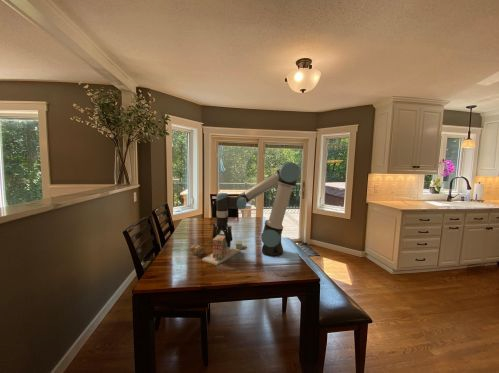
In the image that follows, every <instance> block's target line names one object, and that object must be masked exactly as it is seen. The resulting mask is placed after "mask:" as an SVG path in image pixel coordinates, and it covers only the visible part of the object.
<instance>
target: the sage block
mask: <svg viewBox="0 0 499 373" xmlns="http://www.w3.org/2000/svg"><path fill="white" fill-rule="evenodd" d="M242 247H243V240H236V243H235V249H239V250H242V249H243V248H242Z"/></svg>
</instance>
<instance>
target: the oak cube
mask: <svg viewBox="0 0 499 373" xmlns="http://www.w3.org/2000/svg"><path fill="white" fill-rule="evenodd" d="M198 247H201V245H198V244H192V245H191V246H190V247H189V255H192V256H197V255H198Z"/></svg>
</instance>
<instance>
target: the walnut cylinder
mask: <svg viewBox="0 0 499 373" xmlns="http://www.w3.org/2000/svg"><path fill="white" fill-rule="evenodd" d="M205 257H206V247H205V246H201V245H200V247H198V258H201V259H203V258H205Z"/></svg>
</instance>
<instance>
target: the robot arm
mask: <svg viewBox="0 0 499 373" xmlns="http://www.w3.org/2000/svg"><path fill="white" fill-rule="evenodd" d="M300 175H301V169H300V166H299V165H298V164H297V163H296V162H292V161H288V162H285V163H283V164H282V165H281V166H280V168H278V169H277V170H276V171H275V173H273V174H271V175H270V176H268V177H267V178H264V179H263V180H262V181H260V182H258V183H256V184H255V185H253V186H252V187H250V188H249V189H247V190H245V191H244V192H241V193H240V194H239V195H236V196H229V194H228V193H227V192H226V193H225V192H220V193H219V192H218V193H217V194H216V200H215V202H216V223H213V224H212V225H213V226H212V227H213V230H212V234H211V235H212V239H214V238H215V237H216V236H217V235H218V234H221V231H222V232H223V234H224V235H225V236H226V241H227V242H226V252H227V251H229V246H230V242H231V243H232V241H234V240H233V233H232V232H233V231H232V226H231V225H228V222H229V209H237V210H238V209H239V210H244V209H246V207H247V203H249V202H251V201H252V200H254V199H256V198H257V197H259V196H260V195H263V194H264V193H265V192H268V191H270V190H271V189H273V188H275V187H276V186H277V190H276V193H275V195H274V196H275V197H274V201H273V202H272V203H273V204H272V206H271V207H272V208H271V212H270V215H269V219H266V220H265V221H264V227H263V231H262V233H261V235H260V236H261V237H260V238H261V242H262V243H263V245H262V247H261V253H262V254H263V255H264V256H267V257H281V256H282V255H284V247H283V244H282V234H283V229H284V226H283V221H284V219H285V215H286V212H287V209H288V208H287V207H288V205H289V202H290V199H291V198H290V197H291V193H292V192H293V188H295V187H296V186H297V183H298V178H300Z"/></svg>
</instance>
